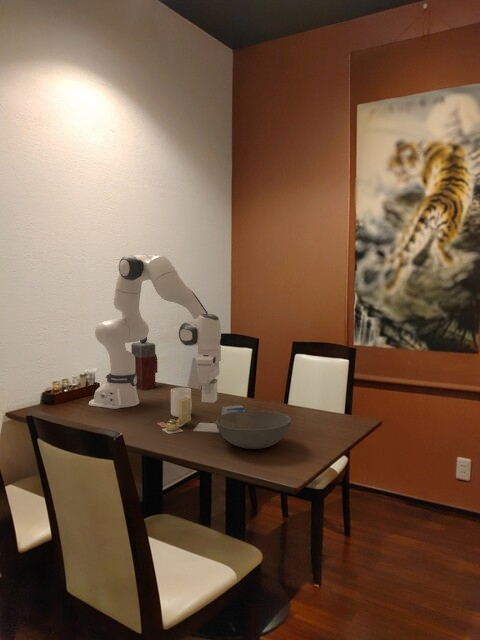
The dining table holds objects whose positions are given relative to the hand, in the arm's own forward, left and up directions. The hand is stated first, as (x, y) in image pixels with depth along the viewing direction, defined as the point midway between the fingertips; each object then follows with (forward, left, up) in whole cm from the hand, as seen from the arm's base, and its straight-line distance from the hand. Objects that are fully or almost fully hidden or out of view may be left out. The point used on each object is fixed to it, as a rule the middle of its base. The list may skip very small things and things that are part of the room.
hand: (209, 391), depth 201 cm
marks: (-15, -3, -15) cm, 21 cm away
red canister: (-49, +61, -15) cm, 80 cm away
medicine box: (+9, +1, -15) cm, 17 cm away
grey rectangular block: (0, 0, -4) cm, 4 cm away
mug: (-15, +15, -15) cm, 26 cm away
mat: (0, 0, -15) cm, 15 cm away
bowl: (+20, -16, -15) cm, 30 cm away
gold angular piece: (-12, -2, -14) cm, 18 cm away
